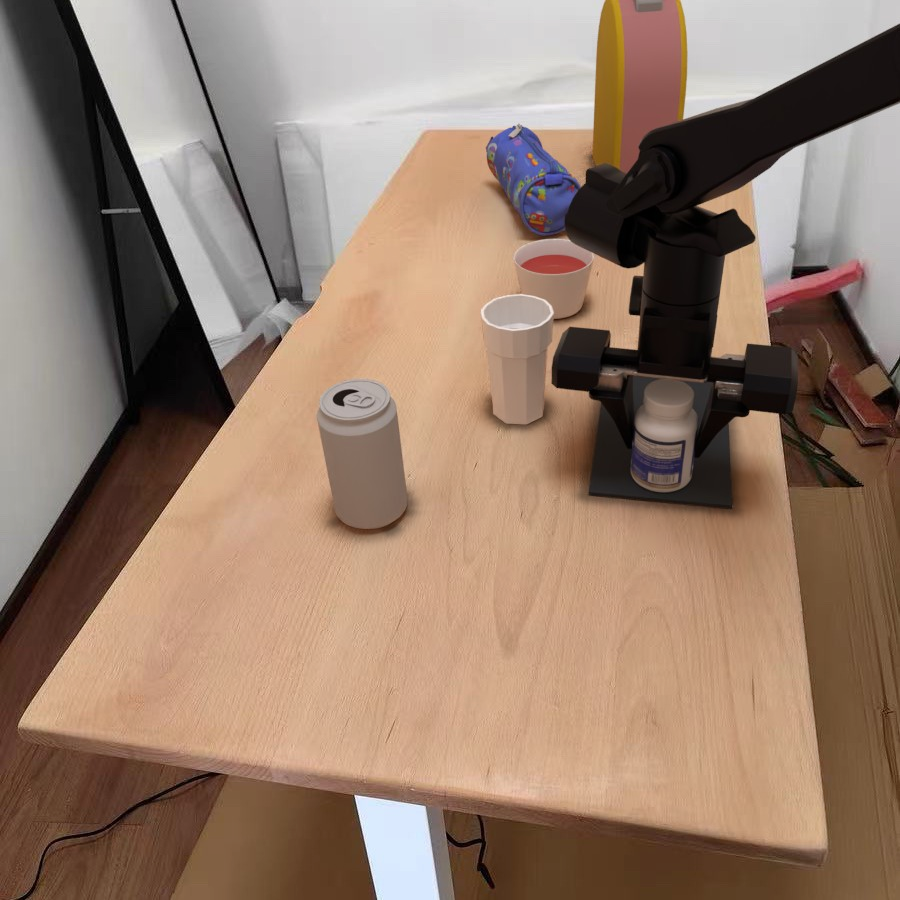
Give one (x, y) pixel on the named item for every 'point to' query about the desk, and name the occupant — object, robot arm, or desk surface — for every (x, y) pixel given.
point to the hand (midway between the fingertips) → (663, 450)
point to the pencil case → (531, 179)
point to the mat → (615, 459)
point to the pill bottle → (664, 436)
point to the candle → (554, 273)
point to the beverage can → (363, 453)
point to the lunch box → (637, 76)
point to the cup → (517, 355)
